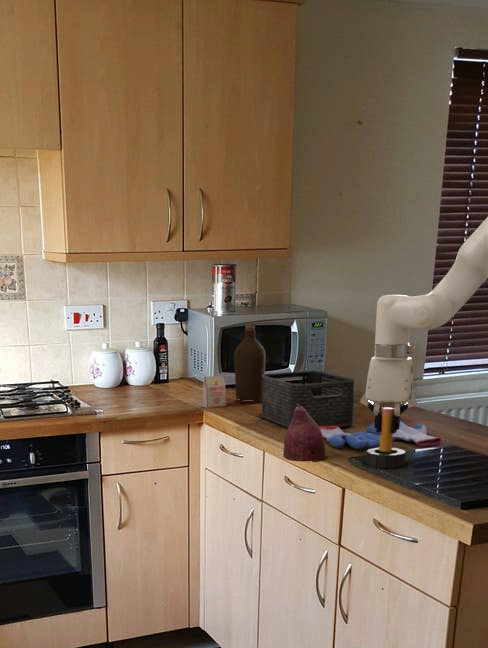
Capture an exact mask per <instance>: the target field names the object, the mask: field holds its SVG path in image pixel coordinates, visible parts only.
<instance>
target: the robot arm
mask: <svg viewBox="0 0 488 648" xmlns="http://www.w3.org/2000/svg"><path fill="white" fill-rule="evenodd" d="M487 280H488V216H487V217H486V218H485V219H484V220H483V221H482V223H480V225H478V227H477V228H476V229H475V230H474V231H473V232H472V234H470V236H469V237H468V238H467V239H466V240H465V241H464V242H463V244H462V245H461V246H460V247H459V249H458V251H457V254H456V258H455V261H454V263H453V264H452V266H451V268H450V269H449V270H448V272H447V273H446V274H445V276H444V277H443V278H442V279H441V280H440V281H439V282H438V284H437V285H436V286H435V287H434V288H433V289H432V290H431V291H430V292H429V293H427V294H421V295H416V296H409V295H406V294H385V295H381V296H380V297H379V298H378V300H377V303H376V316H375V317H376V318H375V337H374V338H375V339H374V352H373V353H374V354H373V356H372V357H371V358H370V362H369V366H368V372H367V379H366V384H365V385H366V386H365V391H364V393H363V394H362V396H361V398H360V400H359V402H360V404H361V405H363V406H366V407H367V408H368V409H369V410H370V411H371V412H372V414H373V415H374V423H375V424H374V428H377V430H376V432H377V433H379V432H380V431H381V414H382V408H383V407H382V406H383V403H389V404H390V403H391V404H394V416H393V417H392V429H391V433H393V434H395V433H396V432H397V430H399V427H400V422H401V415H402V414H403V413H404V412H405V411H407V410H408V409H411V408H413V407H415V406H417V405H418V401H417V398H416V395H415V394H414V365H413V358H412V357H409V356H410V355H411V354H415V353H416V347H415V346H411V345H410V344H411V343H410V336H411V330H415V331H423V332H425V331H431V330H434V329H436V328H439V327H442V326H444V325H445V324H447V323H448V322H449V321H450V320H451V319H452V318H453V317H454V316H455V315H456V313H458V312H459V310H460V309H462V307H464V305H465V304H466V303H467V302H468V301H469V300H470V299H471V298H472V296H473V295H474V294H475V293H476V292H477V290H479V288H480V287H481V286H482V285H483V284H484V283H485V282H486V281H487Z"/></svg>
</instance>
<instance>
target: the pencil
mask: <svg viewBox="0 0 488 648" xmlns="http://www.w3.org/2000/svg"><path fill="white" fill-rule="evenodd" d="M381 412H382V414H381V431H380V447H378V448H379V451H382V452H390V451H392V448H393V443H392V436H393V433H391V429H392V417H393V416H394V413H395V407H389V406H386V407H381Z"/></svg>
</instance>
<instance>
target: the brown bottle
mask: <svg viewBox="0 0 488 648" xmlns="http://www.w3.org/2000/svg"><path fill="white" fill-rule="evenodd" d="M255 328H256V326H255V325H245V326H244V329H245V330H244V338H243V339H242V341H241V342H240V343H239V344H238V345H237V346H236V348H235V351H234V354H233V363H234V381H235V383H234V384H235V401H236V403H238V404H239V403H240V404H259V403H262V375H263V374H266V361H267V359H266V358H267V354H266V350H265V348H264V346H263V345H262V344H261V343H260V342H259V341H258V340H257V338H256V330H255ZM236 398H237V399H240V400H237V399H236ZM260 399H261V400H260ZM243 400H254V401H243Z"/></svg>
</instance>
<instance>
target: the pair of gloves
mask: <svg viewBox="0 0 488 648" xmlns="http://www.w3.org/2000/svg"><path fill="white" fill-rule="evenodd" d="M374 424H375V422H373V423H371V424H370V426H367V428H366V429H365V431H366V432H365V431H364V432H363V431H361V432H355V433H349V432H344V431H343V430H342V429H341V427H337V426H332V427H322V426H321V427H319V428H320V430H321V432H322V435H323V438H325V439H326V441H327V442H328V443H329V444H330V445H331V446H332V447H334V448H335V449H341V448H343V447H344V446H345V445H346V443H347V444H348V446H350V448H351V449H354V450H358V451H363V450H368V449H372V448H380V432H379V433H377V432H376V430H377V428H374ZM427 433H428V432H427V426H426V425H425V424H423V423H417V424H415V425H414V426H413V427H410V426H408V425H406V424H405V423H404V422H402V421H400V427H399V430H397V432H396V433H395V434H393V436H392V444H393V443H394V441H399V440H400V441H405V442H408V443H415V444H416V445H417V446H418V447H428V446H434V445H435V446H436V445H440V444H441V442H442V438H441V437H440V436H436V437H435V436H432V435H428V434H427Z"/></svg>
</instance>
